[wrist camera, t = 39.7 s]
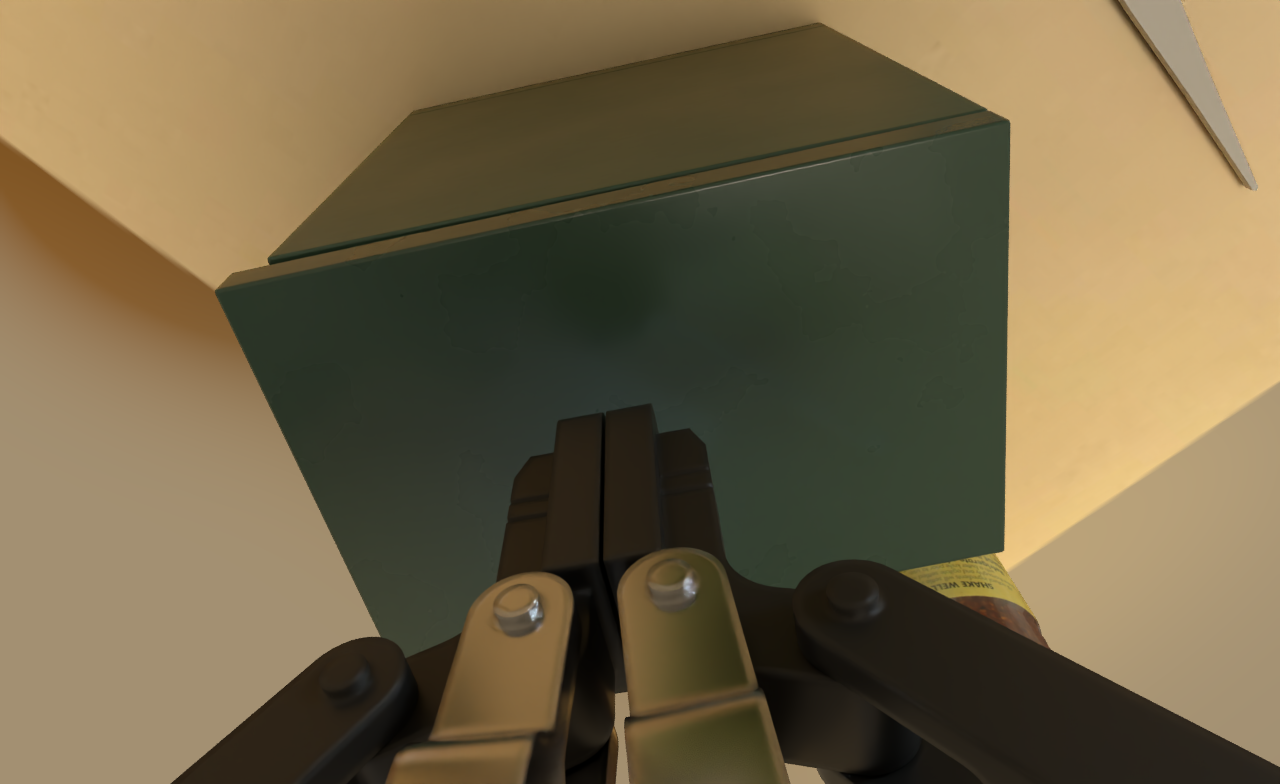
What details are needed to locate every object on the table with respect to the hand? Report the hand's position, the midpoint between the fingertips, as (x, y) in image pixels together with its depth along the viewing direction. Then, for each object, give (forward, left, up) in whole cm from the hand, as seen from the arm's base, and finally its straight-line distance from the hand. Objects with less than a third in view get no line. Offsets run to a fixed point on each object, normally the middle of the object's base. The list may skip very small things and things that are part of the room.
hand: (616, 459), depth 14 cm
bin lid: (+2, 0, -4) cm, 4 cm away
